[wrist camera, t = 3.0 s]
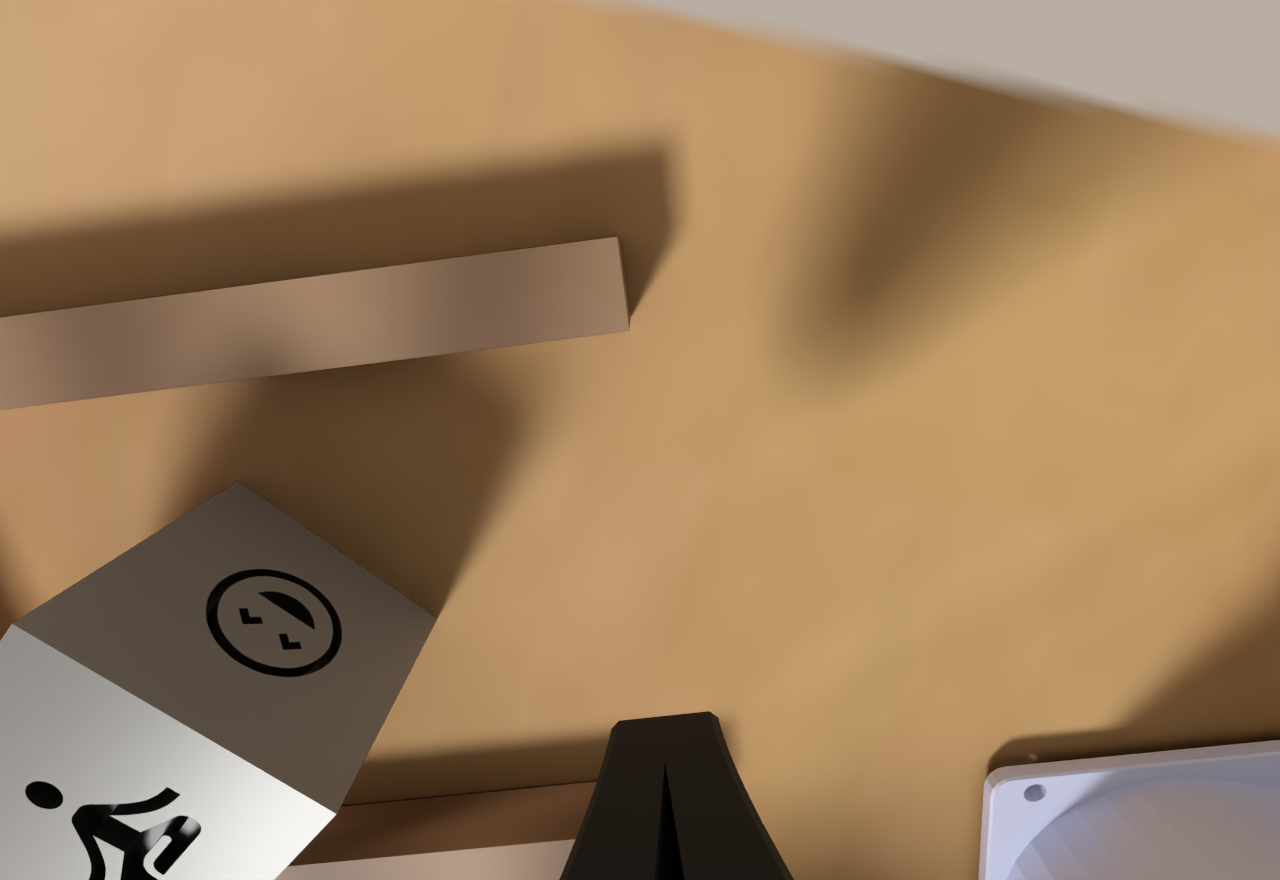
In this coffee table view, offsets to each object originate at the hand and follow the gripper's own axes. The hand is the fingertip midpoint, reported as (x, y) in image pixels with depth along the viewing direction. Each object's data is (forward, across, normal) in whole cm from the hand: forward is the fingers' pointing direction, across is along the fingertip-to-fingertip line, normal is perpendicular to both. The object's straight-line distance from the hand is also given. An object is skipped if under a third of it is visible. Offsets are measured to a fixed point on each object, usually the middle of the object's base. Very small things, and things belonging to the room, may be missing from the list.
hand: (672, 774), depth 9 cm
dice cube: (+6, +8, 0) cm, 10 cm away
